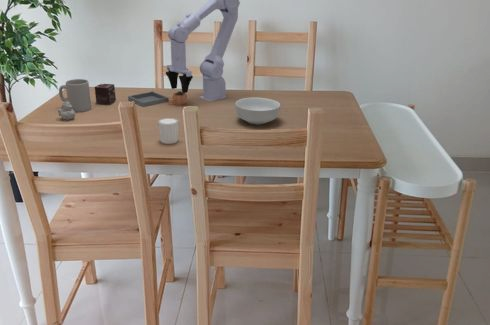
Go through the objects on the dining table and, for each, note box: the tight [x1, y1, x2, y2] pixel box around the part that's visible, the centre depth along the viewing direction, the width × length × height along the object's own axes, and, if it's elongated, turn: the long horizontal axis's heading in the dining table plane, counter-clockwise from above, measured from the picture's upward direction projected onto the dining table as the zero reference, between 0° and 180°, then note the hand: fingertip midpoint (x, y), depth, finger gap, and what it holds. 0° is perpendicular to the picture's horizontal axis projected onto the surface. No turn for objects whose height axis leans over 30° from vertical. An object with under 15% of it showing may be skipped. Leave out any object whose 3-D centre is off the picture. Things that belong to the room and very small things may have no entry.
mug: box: [58, 78, 92, 113], centre depth 187 cm, size 12×8×11 cm
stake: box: [167, 90, 194, 107], centre depth 197 cm, size 8×8×5 cm
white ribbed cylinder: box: [157, 117, 180, 145], centre depth 158 cm, size 7×7×7 cm
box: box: [94, 83, 117, 106], centre depth 196 cm, size 6×6×7 cm
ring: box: [168, 92, 188, 106], centre depth 196 cm, size 8×5×4 cm
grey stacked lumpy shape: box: [57, 99, 76, 121], centre depth 176 cm, size 5×7×8 cm
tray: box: [127, 91, 170, 108], centre depth 199 cm, size 12×12×2 cm
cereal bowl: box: [234, 96, 281, 125], centre depth 179 cm, size 17×17×7 cm
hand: (179, 90), depth 196 cm, fingers open, 7 cm apart
